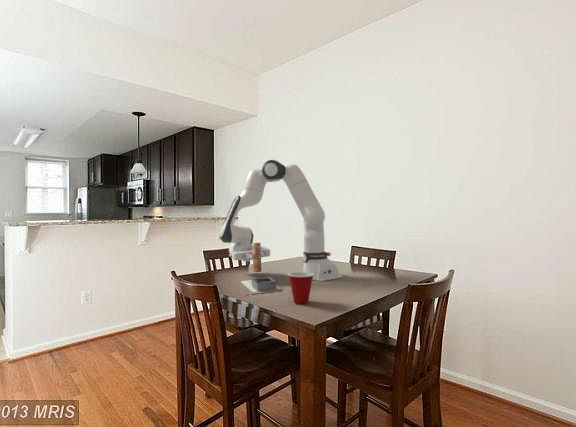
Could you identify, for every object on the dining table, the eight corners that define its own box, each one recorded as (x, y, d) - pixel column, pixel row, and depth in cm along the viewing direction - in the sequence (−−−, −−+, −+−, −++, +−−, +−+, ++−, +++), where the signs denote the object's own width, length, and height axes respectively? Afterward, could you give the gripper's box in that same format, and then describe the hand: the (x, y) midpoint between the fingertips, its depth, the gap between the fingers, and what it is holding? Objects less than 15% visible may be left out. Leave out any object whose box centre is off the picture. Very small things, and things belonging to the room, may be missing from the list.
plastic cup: (314, 298, 139) (314, 270, 138) (314, 306, 128) (313, 276, 128) (289, 298, 140) (288, 270, 139) (286, 306, 129) (286, 275, 129)
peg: (260, 270, 166) (259, 242, 165) (262, 271, 162) (261, 243, 161) (252, 270, 164) (251, 243, 164) (254, 272, 160) (253, 243, 160)
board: (266, 281, 170) (266, 271, 170) (282, 291, 150) (281, 281, 150) (240, 284, 165) (240, 274, 165) (252, 295, 145) (252, 284, 145)
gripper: (227, 248, 168) (237, 251, 156) (262, 245, 179) (275, 247, 167) (227, 261, 168) (238, 264, 157) (263, 256, 179) (275, 260, 167)
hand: (257, 256), depth 162 cm, fingers closed on peg, 4 cm apart
